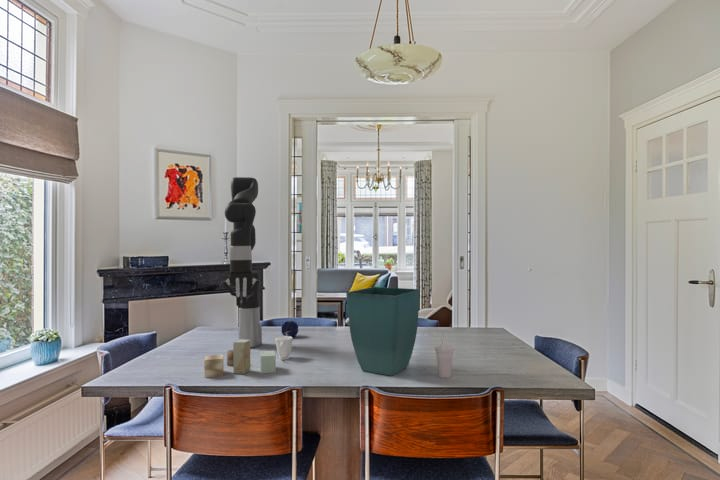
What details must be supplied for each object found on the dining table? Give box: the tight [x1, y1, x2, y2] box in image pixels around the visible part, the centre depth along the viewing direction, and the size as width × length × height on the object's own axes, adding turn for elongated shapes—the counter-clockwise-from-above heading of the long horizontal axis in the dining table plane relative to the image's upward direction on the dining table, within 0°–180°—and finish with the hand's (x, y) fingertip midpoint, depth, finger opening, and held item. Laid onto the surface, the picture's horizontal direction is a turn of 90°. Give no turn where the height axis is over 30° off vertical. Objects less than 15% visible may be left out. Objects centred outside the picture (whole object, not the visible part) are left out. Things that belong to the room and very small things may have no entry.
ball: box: [281, 320, 299, 338], centre depth 210 cm, size 8×8×8 cm
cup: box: [275, 335, 294, 361], centre depth 170 cm, size 7×10×8 cm
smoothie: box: [434, 333, 455, 379], centre depth 146 cm, size 6×6×14 cm
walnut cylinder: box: [226, 349, 233, 367], centre depth 164 cm, size 5×5×5 cm
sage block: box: [259, 350, 277, 374], centre depth 156 cm, size 5×7×6 cm
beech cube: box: [204, 354, 224, 378], centre depth 152 cm, size 6×6×6 cm
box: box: [232, 339, 251, 375], centre depth 154 cm, size 5×4×11 cm
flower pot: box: [345, 286, 421, 376], centre depth 154 cm, size 20×20×28 cm
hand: (241, 307), depth 154 cm, fingers closed
